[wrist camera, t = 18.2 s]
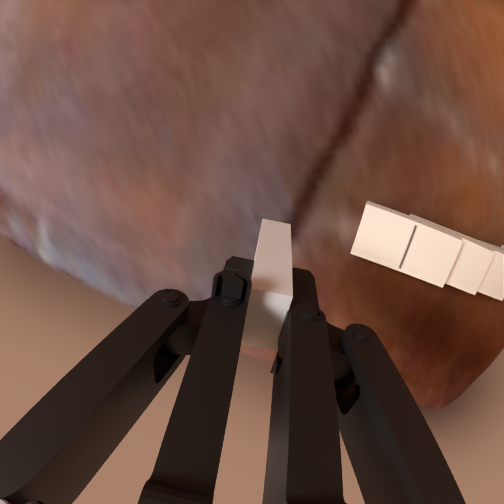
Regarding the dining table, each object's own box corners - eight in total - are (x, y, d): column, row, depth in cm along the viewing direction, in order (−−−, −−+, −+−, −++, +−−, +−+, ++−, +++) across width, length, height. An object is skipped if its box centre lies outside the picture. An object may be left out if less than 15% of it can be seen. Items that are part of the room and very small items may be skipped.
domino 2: (412, 217, 26) (495, 252, 23) (410, 213, 27) (490, 247, 24) (394, 264, 28) (475, 295, 25) (394, 258, 29) (471, 288, 26)
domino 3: (449, 232, 26) (520, 261, 23) (446, 227, 27) (515, 256, 24) (432, 275, 28) (502, 301, 25) (430, 269, 29) (498, 294, 26)
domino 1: (366, 204, 26) (463, 241, 23) (367, 200, 27) (459, 235, 24) (350, 253, 28) (442, 287, 25) (352, 247, 29) (440, 280, 26)
